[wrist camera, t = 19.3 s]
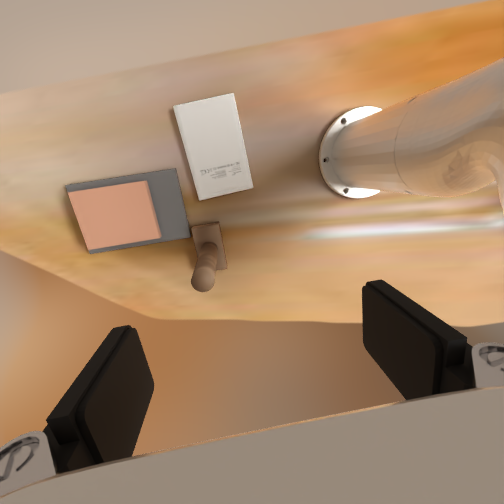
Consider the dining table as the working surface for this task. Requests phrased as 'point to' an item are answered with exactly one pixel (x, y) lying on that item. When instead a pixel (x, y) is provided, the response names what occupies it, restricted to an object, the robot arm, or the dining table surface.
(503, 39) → the dining table surface
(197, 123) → the external hard drive
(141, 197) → the tile
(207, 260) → the tool
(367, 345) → the robot arm
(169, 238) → the mat
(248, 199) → the dining table surface
